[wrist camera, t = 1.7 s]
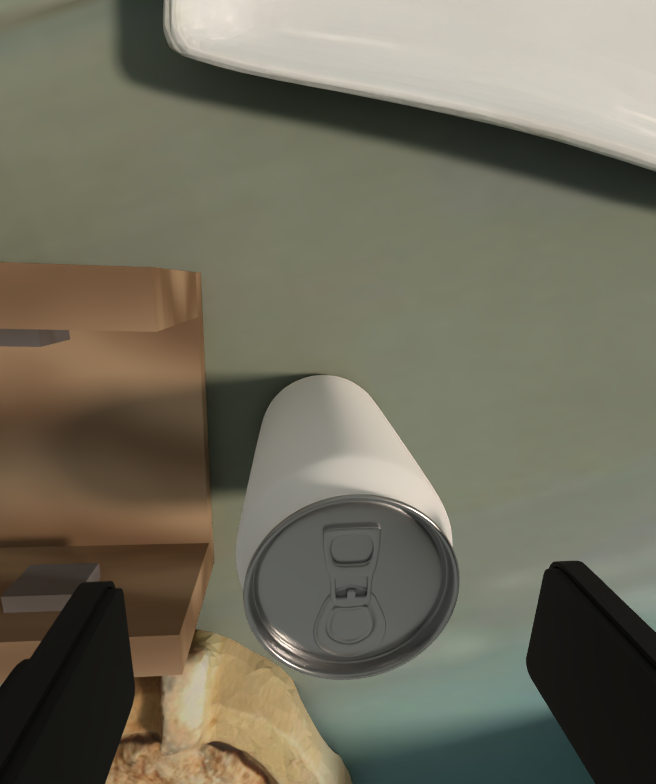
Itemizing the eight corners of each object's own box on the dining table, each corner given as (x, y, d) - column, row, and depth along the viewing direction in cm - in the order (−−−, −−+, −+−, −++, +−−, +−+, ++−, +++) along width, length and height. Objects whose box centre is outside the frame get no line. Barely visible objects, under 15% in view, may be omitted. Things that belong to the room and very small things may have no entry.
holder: (213, 562, 24) (182, 674, 17) (-10, 568, 23) (-139, 690, 16) (200, 272, 20) (151, 267, 13) (-73, 263, 18) (-284, 252, 12)
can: (263, 488, 23) (233, 702, 11) (258, 373, 21) (216, 485, 9) (379, 483, 23) (465, 683, 12) (383, 371, 22) (488, 474, 10)
